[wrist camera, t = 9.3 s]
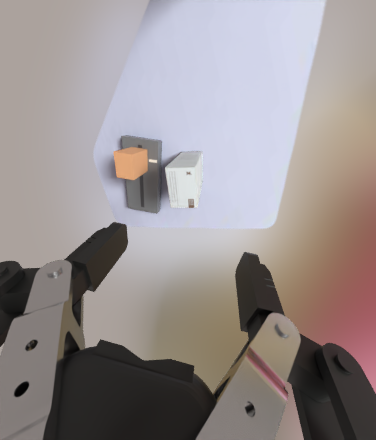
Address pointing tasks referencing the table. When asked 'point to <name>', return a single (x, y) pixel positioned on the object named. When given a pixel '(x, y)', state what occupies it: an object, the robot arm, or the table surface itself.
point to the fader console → (145, 176)
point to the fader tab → (131, 162)
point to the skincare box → (185, 179)
